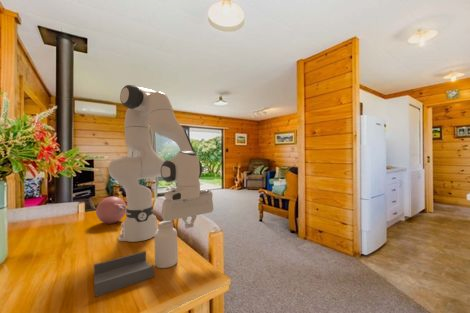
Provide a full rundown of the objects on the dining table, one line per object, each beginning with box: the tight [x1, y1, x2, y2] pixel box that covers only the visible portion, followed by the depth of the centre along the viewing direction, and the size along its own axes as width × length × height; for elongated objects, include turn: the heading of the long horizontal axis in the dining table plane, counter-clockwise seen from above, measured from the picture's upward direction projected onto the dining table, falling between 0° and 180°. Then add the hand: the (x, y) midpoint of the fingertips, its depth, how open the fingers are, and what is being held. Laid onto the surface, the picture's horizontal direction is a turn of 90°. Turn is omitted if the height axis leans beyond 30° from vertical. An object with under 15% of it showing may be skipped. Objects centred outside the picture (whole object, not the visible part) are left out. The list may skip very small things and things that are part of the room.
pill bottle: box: [153, 220, 179, 269], centre depth 76 cm, size 8×8×15 cm
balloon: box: [95, 196, 127, 224], centre depth 121 cm, size 15×20×15 cm
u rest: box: [93, 250, 155, 297], centre depth 68 cm, size 13×16×4 cm
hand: (189, 227), depth 81 cm, fingers closed
